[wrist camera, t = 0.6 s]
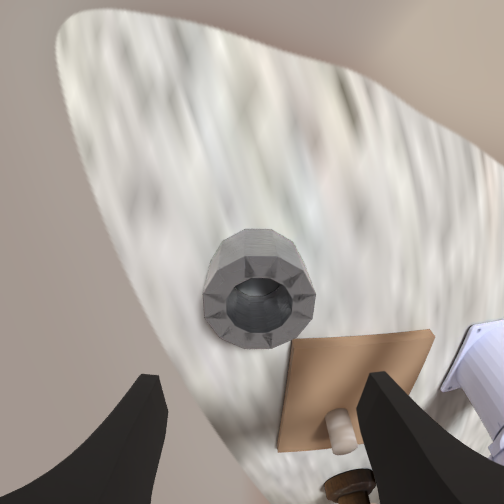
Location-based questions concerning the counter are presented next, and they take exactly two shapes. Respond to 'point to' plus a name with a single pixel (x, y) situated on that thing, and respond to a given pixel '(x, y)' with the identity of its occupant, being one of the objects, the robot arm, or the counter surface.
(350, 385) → the post board
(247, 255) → the hub ring
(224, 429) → the counter surface
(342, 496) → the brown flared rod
